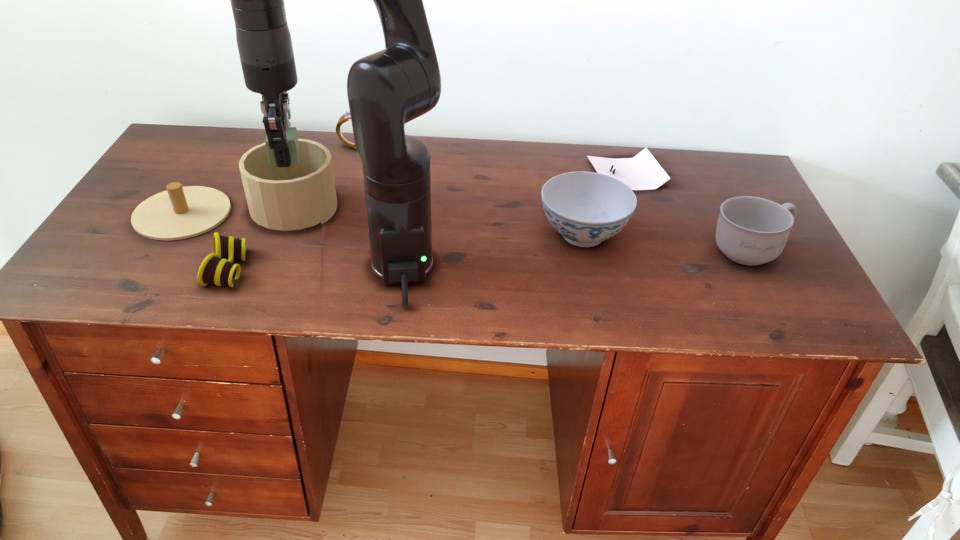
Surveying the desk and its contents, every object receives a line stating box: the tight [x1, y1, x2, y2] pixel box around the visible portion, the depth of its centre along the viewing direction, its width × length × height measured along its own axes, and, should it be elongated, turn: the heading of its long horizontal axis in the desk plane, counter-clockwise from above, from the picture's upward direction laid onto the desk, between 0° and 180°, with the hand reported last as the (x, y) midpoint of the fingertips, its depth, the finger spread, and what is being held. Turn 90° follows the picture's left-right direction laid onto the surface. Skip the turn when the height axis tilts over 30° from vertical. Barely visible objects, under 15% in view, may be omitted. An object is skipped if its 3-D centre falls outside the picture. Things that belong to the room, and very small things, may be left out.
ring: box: [335, 110, 357, 150], centre depth 126 cm, size 7×3×8 cm, turn 82°
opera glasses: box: [196, 231, 247, 288], centre depth 97 cm, size 10×5×5 cm, turn 4°
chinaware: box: [540, 170, 638, 248], centre depth 106 cm, size 15×15×8 cm
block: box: [264, 126, 300, 167], centre depth 105 cm, size 4×4×4 cm
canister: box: [238, 138, 338, 232], centre depth 109 cm, size 14×15×10 cm
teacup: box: [715, 195, 798, 266], centre depth 104 cm, size 14×11×8 cm
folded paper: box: [586, 147, 671, 191], centre depth 123 cm, size 12×12×2 cm
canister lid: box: [130, 181, 232, 242], centre depth 107 cm, size 15×15×6 cm
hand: (285, 157), depth 106 cm, fingers closed on block, 4 cm apart
